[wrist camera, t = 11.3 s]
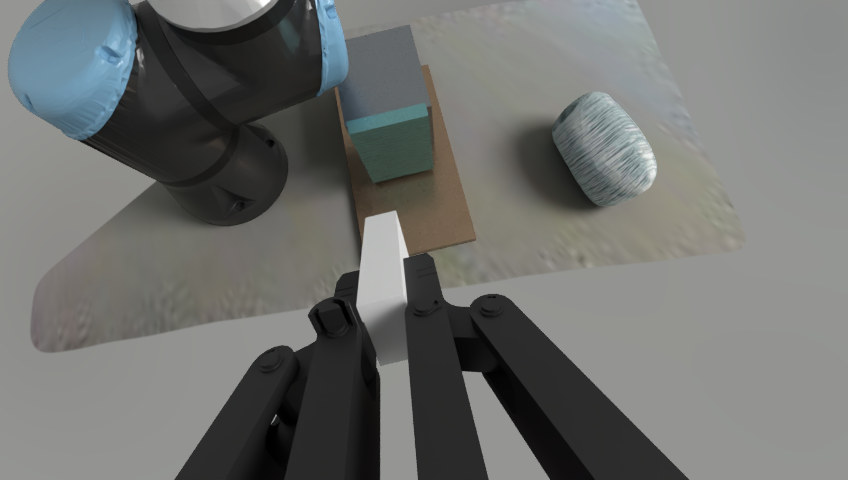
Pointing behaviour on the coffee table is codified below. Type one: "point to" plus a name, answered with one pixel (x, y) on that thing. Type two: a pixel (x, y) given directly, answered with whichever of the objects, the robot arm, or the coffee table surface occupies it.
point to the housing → (440, 187)
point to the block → (393, 142)
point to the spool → (604, 150)
